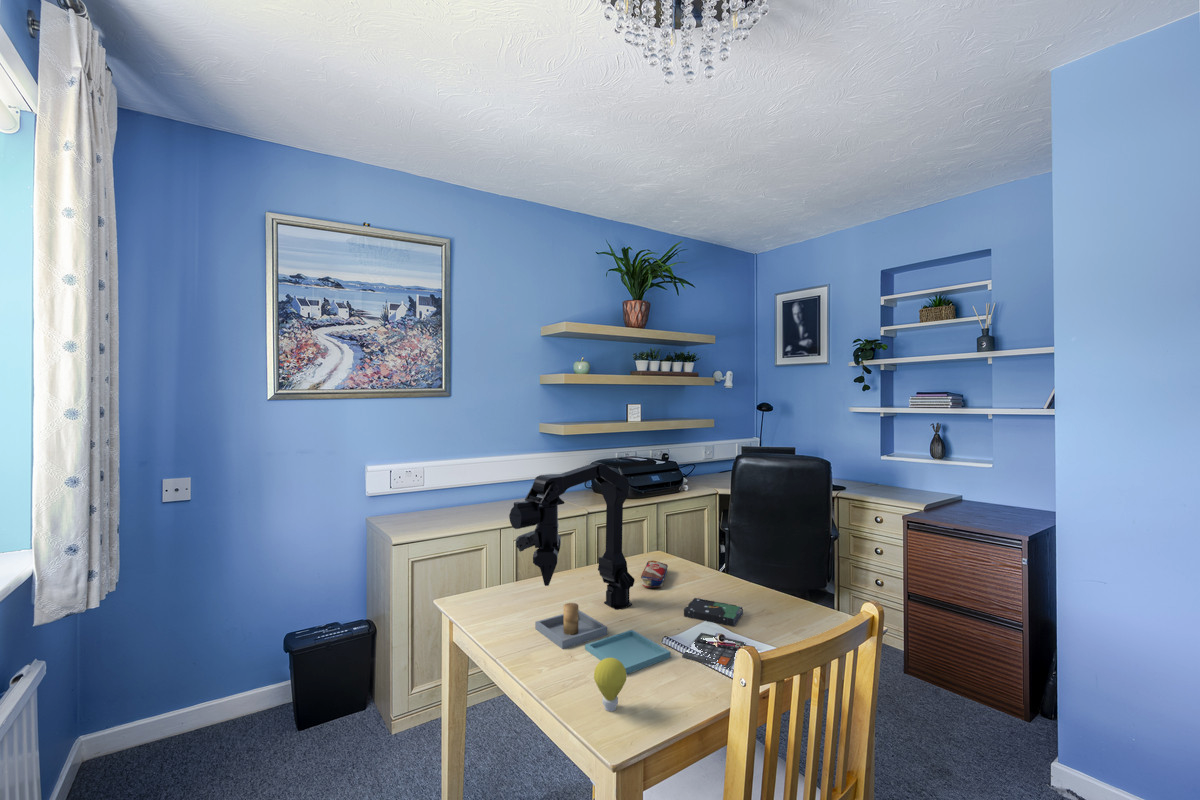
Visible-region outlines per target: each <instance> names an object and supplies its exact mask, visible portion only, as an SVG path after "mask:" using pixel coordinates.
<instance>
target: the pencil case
mask: <svg viewBox="0 0 1200 800" xmlns="http://www.w3.org/2000/svg"><path fill="white" fill-rule="evenodd" d="M668 567H669V566H668V564H667V563H663V562H660V561H658V560H657V561H656V560H648V561H647V562H646V564H645V567H644V569H643V571H642V572H641V574H640V578H641V585H642V586H643V587H644V588H649V589H653V588H660V587H661V588H662V586H663V585H664V581H665V578H666V575H667V573H668Z"/></svg>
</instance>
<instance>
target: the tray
mask: <svg viewBox="0 0 1200 800" xmlns="http://www.w3.org/2000/svg"><path fill="white" fill-rule="evenodd" d="M584 650H585V651H587V652H588V653H589V654H590V655H593V657H595V658H596V659H598V660H599V661H601V660H603V659H605V658H615V659H617V660H619V661H620V662H621V663H622V664H623V666H624V667H625V670H626V675H628V674H631V673H634V672H636V671H639V670H641V669H644V668H647V667H650V666H652V665H655V664H657V663H660V662H663V661H666V660H668V659H670V658H671V656H672V655H671V650H669V649H667V648H666V647H664V646H661V644H658V643H656V642H655V641H653V640H652V639H649V638H648V637H646V636H644V635H643V634H640V632H637V631H635V630H633V629H630V630H626V631H623V632H620V633H617V634H614V635H611V636H607V637H604V638H601V639H598V640H595V641H592V642H590V643H589V642H588V643H586V644H584Z"/></svg>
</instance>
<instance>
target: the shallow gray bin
mask: <svg viewBox="0 0 1200 800" xmlns="http://www.w3.org/2000/svg"><path fill="white" fill-rule="evenodd" d="M535 630H536V631H537V632H539V633H540V634H541V635H542V636H544V637H545V638H547V640H549V641H551V642H552V643H553V644H555V645H556V646H558V648H560V649H562V650H564V649H567V648H569V647H574V646H576V645H580V644H583V643H585V642H589V641H592V640H595V639H599V638H601V637H604V636H608V626H607V625H605V624H603V623H601V622H600V621H598V620H596V619H595V618H593V617H591V616H590V615H588V614H586V613H585V612H583V611H582V610H580V609H578V633H577V634H575V635H567V634H564V613H561V614H559V615H554V616H552V617H547V618H544V619H540V620H536V621H535Z"/></svg>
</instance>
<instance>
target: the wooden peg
mask: <svg viewBox="0 0 1200 800" xmlns="http://www.w3.org/2000/svg"><path fill="white" fill-rule="evenodd" d="M578 610H579V604H578V603H576V602H567V603H565V604H563V614H564V634H567V635H575V634H577V633H578Z"/></svg>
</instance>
